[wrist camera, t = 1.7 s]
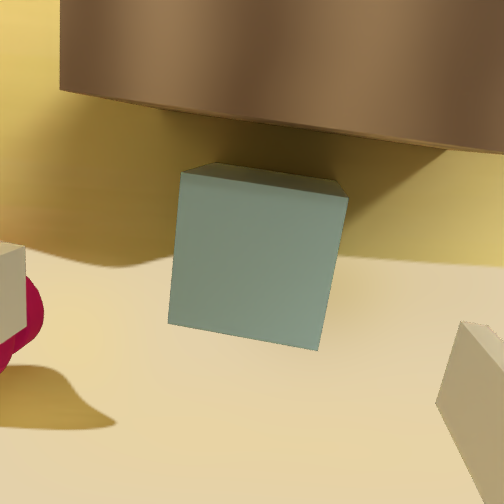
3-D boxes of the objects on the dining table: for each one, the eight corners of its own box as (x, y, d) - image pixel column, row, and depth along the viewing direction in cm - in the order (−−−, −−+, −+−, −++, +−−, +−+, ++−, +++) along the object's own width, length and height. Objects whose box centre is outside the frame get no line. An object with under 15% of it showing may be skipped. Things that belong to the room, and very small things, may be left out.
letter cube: (338, 180, 24) (351, 198, 17) (315, 295, 25) (320, 351, 19) (215, 162, 24) (181, 171, 17) (202, 275, 26) (167, 323, 19)
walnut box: (480, 25, 21) (633, -71, 11) (448, 149, 22) (556, 159, 13) (167, -12, 22) (60, -127, 12) (159, 108, 24) (59, 89, 14)
